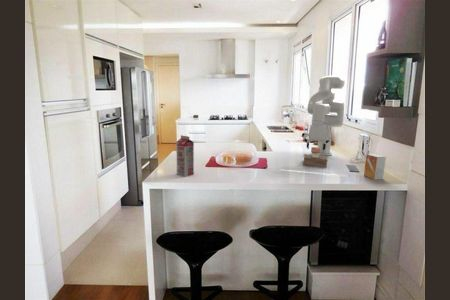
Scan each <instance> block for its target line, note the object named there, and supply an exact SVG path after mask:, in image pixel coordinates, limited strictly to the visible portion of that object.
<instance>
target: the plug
mask: <svg viewBox="0 0 450 300" xmlns="http://www.w3.org/2000/svg"><path fill="white" fill-rule="evenodd" d="M310 149H311V150H310V153H311V154H312V157H314V158H319V153H320V148H319V147H318V146H312V147H311V148H310Z"/></svg>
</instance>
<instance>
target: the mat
mask: <svg viewBox="0 0 450 300" xmlns="http://www.w3.org/2000/svg"><path fill="white" fill-rule="evenodd" d="M346 168H347V169H348V171H349V172H350V173H351V172H352V173H360V170H359V168H357V166H356V165H355V164H354V165H353V164H346Z"/></svg>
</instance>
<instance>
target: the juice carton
mask: <svg viewBox="0 0 450 300" xmlns="http://www.w3.org/2000/svg"><path fill="white" fill-rule="evenodd" d="M175 144H176V175H177V176H180V177H183V178H187V177H190V176H193V175H194V172H195V171H194V164H195V161H194V159H195V157H194V155H195V153H194V151H195V150H194V146H195V142H194V141H193V140H191V139H190V136H187V135H180V138H179V139H178V140H177V141H176V143H175Z"/></svg>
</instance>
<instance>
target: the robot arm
mask: <svg viewBox="0 0 450 300" xmlns="http://www.w3.org/2000/svg"><path fill="white" fill-rule="evenodd" d="M319 78H320V79H319V82H318V83H319V87H318V91H317V92H316V93H314V94H312V96H310V98H309V100H308V105H307V107H306V108H307V113H308V114H309V115H312V118H311V124H310V126H309V130H308V131H309V132H308V133H307V134H305V135H302V138H303V140H304V141H305V143H306V148H307V150H309V148H310V142H311V141H317V143H318V144H317V147H319V148H320V153H319V155H325V156H326V157H327V156H332V155H333V153H332V152H331V145H332V135H333V132H332V130H331V129H330V128H341V127H342V126H343V124H344V113H345V103H344V101H343V100H341V99H339V100H338V99H335V96H336V95H335V94H336V93H335V91H334V90H335V89H336V90H338V89H343V88H344V86H345V77H344V76H342V75H328V76H322V77H319ZM320 101H322V102H321V103H319V102H320ZM331 113H333V114H331ZM307 137H308V139H307Z"/></svg>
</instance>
